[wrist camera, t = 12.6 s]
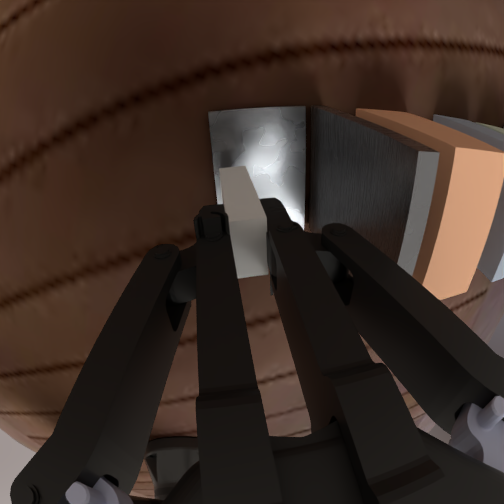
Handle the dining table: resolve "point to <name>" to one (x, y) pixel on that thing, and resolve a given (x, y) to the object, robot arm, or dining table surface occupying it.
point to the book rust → (451, 200)
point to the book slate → (500, 235)
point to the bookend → (333, 171)
